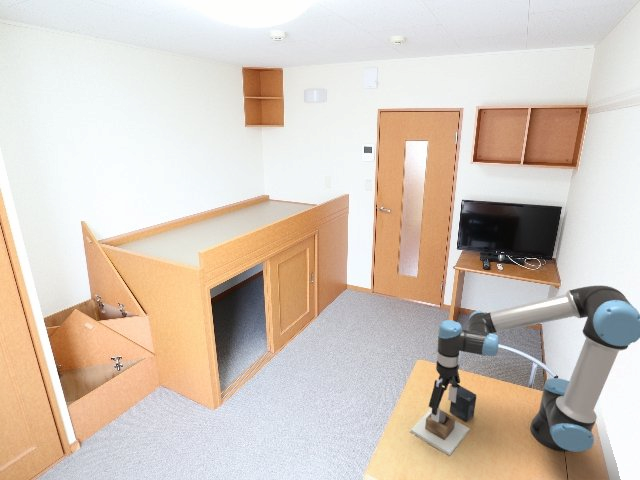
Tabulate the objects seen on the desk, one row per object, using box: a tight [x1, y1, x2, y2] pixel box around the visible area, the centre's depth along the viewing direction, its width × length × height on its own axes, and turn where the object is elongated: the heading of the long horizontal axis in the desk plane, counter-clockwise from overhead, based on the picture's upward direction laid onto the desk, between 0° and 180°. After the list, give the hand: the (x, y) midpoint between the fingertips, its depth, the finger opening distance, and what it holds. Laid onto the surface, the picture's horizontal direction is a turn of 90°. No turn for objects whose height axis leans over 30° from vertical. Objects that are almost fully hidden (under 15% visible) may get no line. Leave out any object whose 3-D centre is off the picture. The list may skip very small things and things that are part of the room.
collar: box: [425, 409, 456, 440], centre depth 148 cm, size 8×8×5 cm
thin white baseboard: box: [410, 407, 470, 457], centre depth 148 cm, size 16×16×8 cm
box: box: [449, 385, 478, 423], centre depth 156 cm, size 8×6×11 cm
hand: (443, 410), depth 146 cm, fingers open, 13 cm apart
